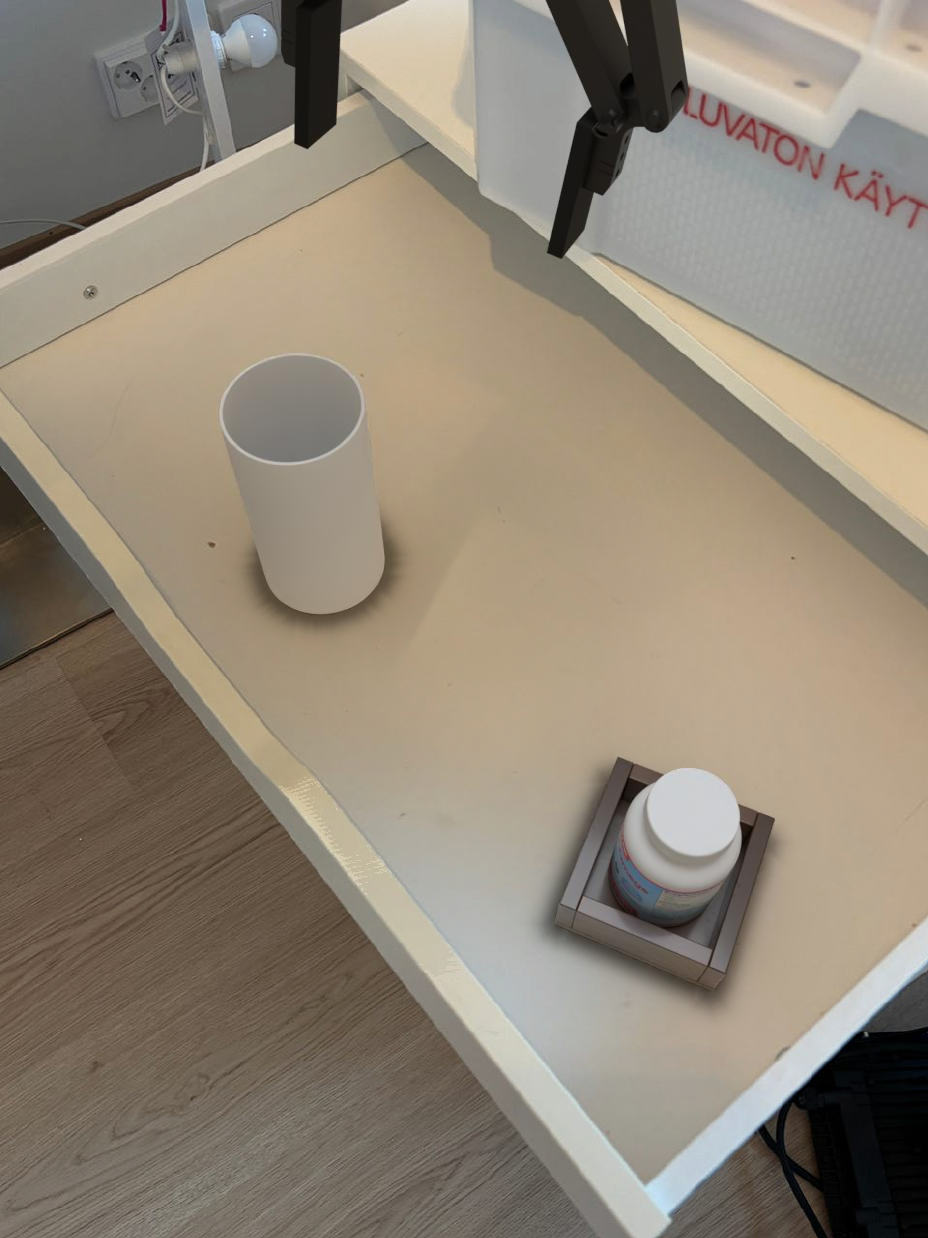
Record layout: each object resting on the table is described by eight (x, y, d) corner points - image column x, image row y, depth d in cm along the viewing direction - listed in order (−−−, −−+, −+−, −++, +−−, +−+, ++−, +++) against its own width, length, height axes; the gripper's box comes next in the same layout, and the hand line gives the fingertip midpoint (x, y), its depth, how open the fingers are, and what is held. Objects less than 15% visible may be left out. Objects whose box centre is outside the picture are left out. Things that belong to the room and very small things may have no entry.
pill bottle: (600, 833, 67) (621, 758, 58) (702, 824, 68) (741, 747, 58) (616, 936, 64) (642, 875, 55) (723, 926, 65) (767, 863, 55)
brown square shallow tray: (554, 924, 65) (558, 903, 62) (610, 782, 70) (617, 756, 66) (712, 991, 63) (726, 974, 60) (759, 842, 68) (775, 818, 64)
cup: (322, 637, 75) (288, 491, 61) (238, 565, 78) (187, 410, 64) (409, 559, 78) (395, 403, 64) (325, 493, 81) (295, 330, 67)
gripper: (900, -296, 37) (703, 247, 54) (252, -506, 42) (259, 60, 59) (839, -235, 33) (647, 333, 50) (123, -475, 37) (171, 125, 54)
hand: (437, 187), depth 55 cm, fingers open, 13 cm apart
